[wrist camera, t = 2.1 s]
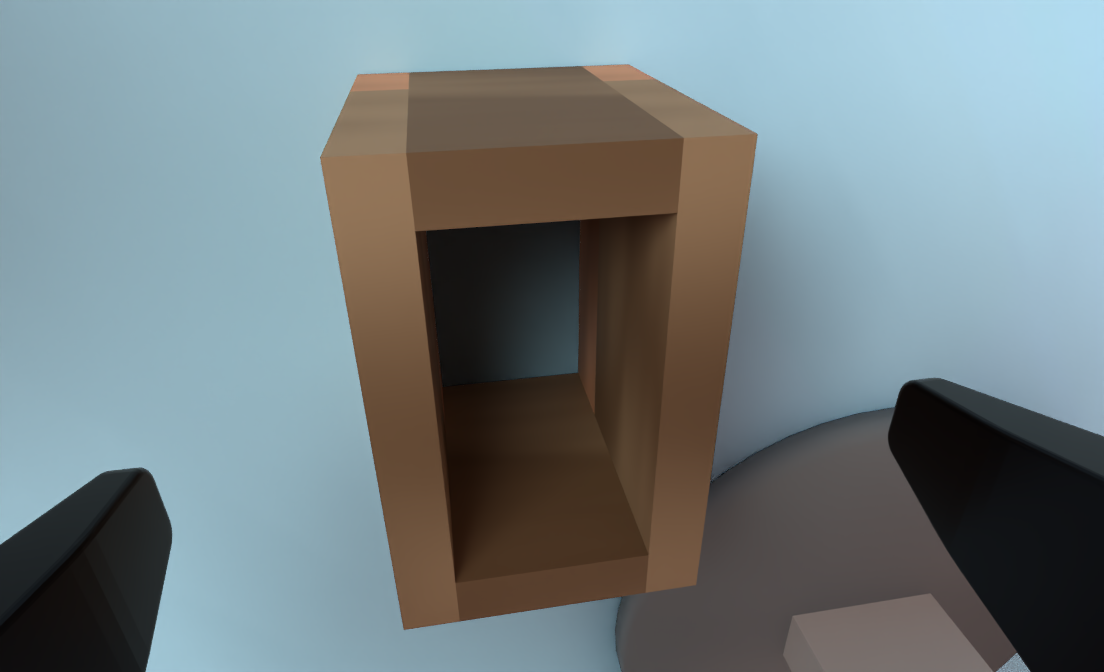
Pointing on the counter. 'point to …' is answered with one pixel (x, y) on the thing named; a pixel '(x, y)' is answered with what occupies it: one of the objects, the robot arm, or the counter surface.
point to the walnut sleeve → (604, 329)
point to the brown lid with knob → (816, 572)
